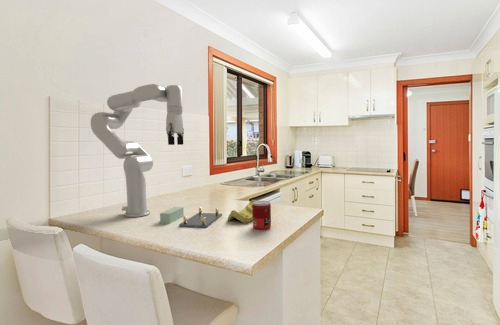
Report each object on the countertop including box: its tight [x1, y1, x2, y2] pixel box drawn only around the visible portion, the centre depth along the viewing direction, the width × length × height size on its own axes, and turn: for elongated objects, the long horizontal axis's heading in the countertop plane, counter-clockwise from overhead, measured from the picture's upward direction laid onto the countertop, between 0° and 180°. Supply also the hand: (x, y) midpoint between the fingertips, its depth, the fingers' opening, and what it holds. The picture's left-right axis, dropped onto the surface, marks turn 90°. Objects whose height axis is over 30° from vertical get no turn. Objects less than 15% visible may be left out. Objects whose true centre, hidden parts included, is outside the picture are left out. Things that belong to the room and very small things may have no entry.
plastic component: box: [226, 199, 256, 224], centre depth 145 cm, size 20×7×10 cm
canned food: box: [252, 200, 272, 231], centre depth 128 cm, size 8×8×11 cm
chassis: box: [178, 207, 223, 229], centre depth 141 cm, size 13×22×4 cm, turn 167°
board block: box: [159, 206, 185, 225], centre depth 145 cm, size 5×14×5 cm, turn 166°
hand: (176, 144), depth 150 cm, fingers open, 9 cm apart
